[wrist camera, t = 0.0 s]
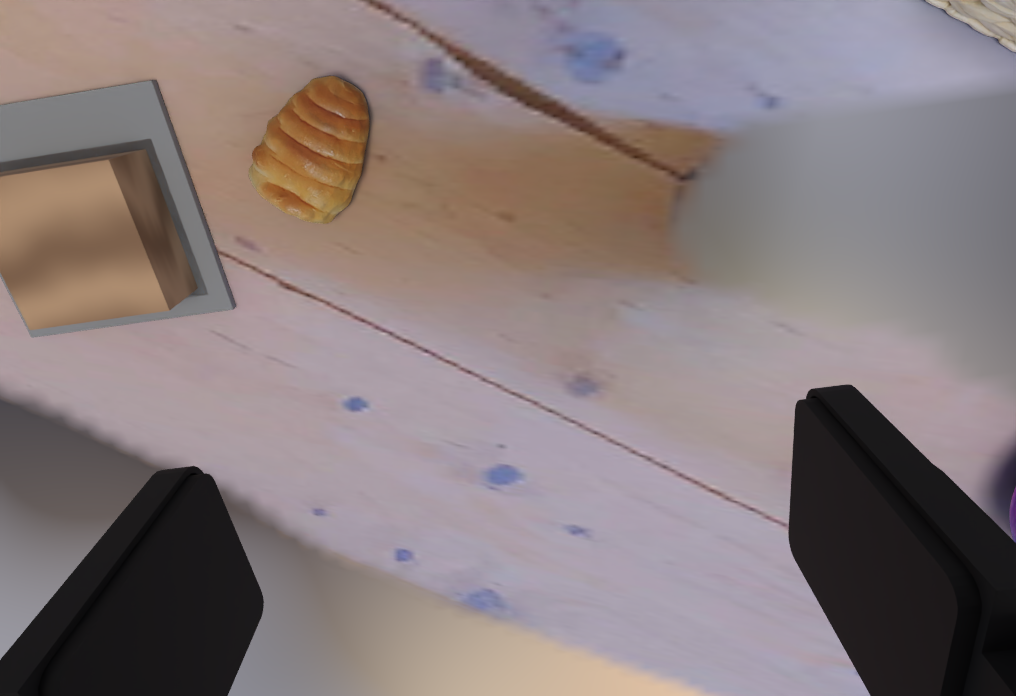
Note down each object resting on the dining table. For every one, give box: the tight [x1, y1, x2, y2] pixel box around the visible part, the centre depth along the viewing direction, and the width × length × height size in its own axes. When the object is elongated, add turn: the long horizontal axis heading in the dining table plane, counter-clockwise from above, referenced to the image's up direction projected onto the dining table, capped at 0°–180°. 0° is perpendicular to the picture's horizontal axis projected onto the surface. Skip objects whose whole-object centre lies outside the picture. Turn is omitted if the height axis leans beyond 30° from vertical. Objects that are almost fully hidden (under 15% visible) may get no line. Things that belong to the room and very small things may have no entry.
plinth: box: [0, 138, 208, 330], centre depth 43 cm, size 11×11×5 cm
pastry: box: [249, 76, 370, 224], centre depth 42 cm, size 9×7×4 cm
